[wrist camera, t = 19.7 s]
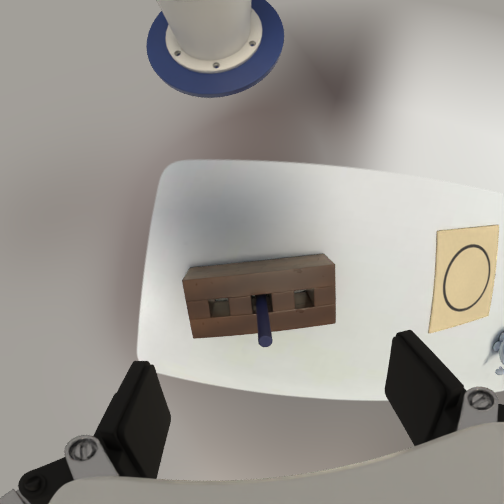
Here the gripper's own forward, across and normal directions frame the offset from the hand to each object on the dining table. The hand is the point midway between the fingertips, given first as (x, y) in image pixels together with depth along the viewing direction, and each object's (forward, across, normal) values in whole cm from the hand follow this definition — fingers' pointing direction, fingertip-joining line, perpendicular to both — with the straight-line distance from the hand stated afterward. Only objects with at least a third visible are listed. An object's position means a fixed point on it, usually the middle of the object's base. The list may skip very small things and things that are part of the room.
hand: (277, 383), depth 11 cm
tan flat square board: (+26, -33, +9) cm, 43 cm away
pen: (+27, 0, +7) cm, 27 cm away
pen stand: (+27, 0, +6) cm, 27 cm away
